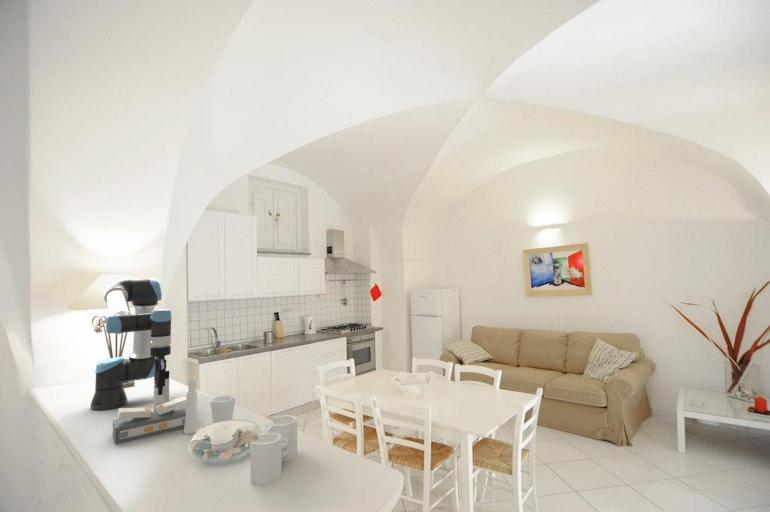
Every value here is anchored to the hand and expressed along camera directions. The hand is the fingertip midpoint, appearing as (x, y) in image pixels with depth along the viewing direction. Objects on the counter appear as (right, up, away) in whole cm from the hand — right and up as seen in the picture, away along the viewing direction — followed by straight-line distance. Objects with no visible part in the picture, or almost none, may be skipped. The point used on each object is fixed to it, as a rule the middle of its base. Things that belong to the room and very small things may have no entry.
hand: (159, 402), depth 161 cm
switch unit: (-1, -11, -2) cm, 11 cm away
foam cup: (+28, -11, -4) cm, 31 cm away
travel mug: (-9, -13, +17) cm, 23 cm away
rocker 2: (+4, -4, +3) cm, 6 cm away
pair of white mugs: (+59, -8, -35) cm, 69 cm away
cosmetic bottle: (+16, -11, -4) cm, 19 cm away
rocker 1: (-7, -3, -6) cm, 10 cm away
